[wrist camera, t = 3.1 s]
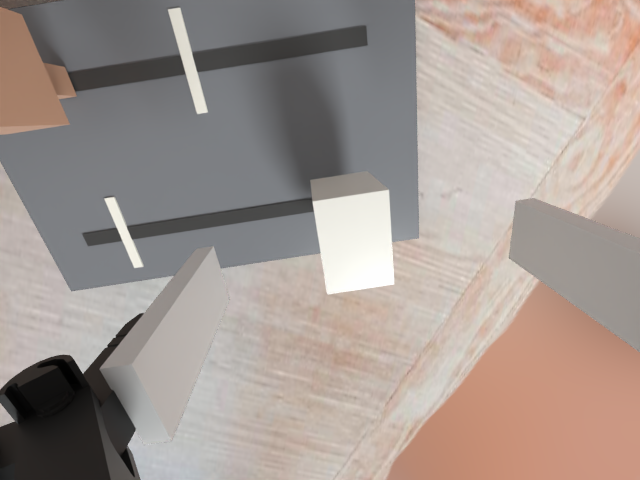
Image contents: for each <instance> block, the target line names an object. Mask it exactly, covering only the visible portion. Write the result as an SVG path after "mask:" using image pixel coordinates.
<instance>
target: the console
mask: <svg viewBox="0 0 640 480" xmlns="http://www.w3.org/2000/svg"><path fill="white" fill-rule="evenodd" d="M8 10H11V11H13V12H16V13H19V14H22V16H23V18H24V21H25V23H26V25H27V27H28V30H29V32H30V34H31V37H32V39H33V41H34V43H35V46H36V48H37V50H38V53H39V55H40V57H41V59H42V62H43V63H48V64H53V65H57V66H62V67H65V69H66V71H67V73H68V76H69V78H70V81H71V83H72V85H73V88H74V90H75V93H76V95H77V97H70V98H64V99H59V101H60V103H61V105H62V107H63V110H64V112H65V114H66V117H67V119H68V121H69V123H70V125H63V126H57V127H51V128H44V129H38V130H32V131H25V132H19V133H13V134H5V135H0V162H1V164H2V165H3V167H4V169H5V171H6V173H7V175H8V176H9V178H10V180H11V182H12V184H13V186H14V187H15V189H16V191H17V193H18V195H19V197H20V198H21V200H22V202H23V204H24V206H25V208H26V209H27V211H28V213H29V215H30V217H31V218H32V220H33V222H34V224H35V226H36V228H37V229H38V231H39V233H40V235H41V237H42V239H43V240H44V242H45V244H46V246H47V248H48V250H49V251H50V253H51V255H52V257H53V259H54V261H55V262H56V264H57V266H58V268H59V270H60V272H61V273H62V275H63V277H64V279H65V281H66V283H67V284H68V286H69V288H70V290H71V291H76V290H83V289H89V288H96V287H102V286H109V285H116V284H122V283H129V282H135V281H142V280H148V279H155V278H161V277H168V276H174V275H175V274H176V273H177V272H178V271H179V270H180V268H181V267H182V266H183V265H184V263H185V262H186V261H187V260H188V258H189V257H190V256H191V255H192V253H193V252H194V251H195V250H196V249H198V248H205V247H211V246H214V249H215V252H216V256H217V259H218V262H219V265H220V268H227V267H233V266H240V265H246V264H253V263H259V262H266V261H272V260H279V259H286V258H292V257H299V256H305V255H312V254H318V253H321V252H320V246H319V239H318V233H317V227H316V221H315V214H314V208H313V202H312V192H311V183H310V180H313V179H319V178H326V177H332V176H339V175H345V174H352V173H358V172H365V171H368V172H369V173H370V174H371V175H372V176H374V177H375V178H376V179H377V180H378V181H379V182H381V183H382V184H383V185H384V186H385V187H386V188H388V189H389V199H390V217H391V235H392V242H397V241H403V240H410V239H416V238H419V208H418V151H417V93H416V36H415V0H62V1H55V2H49V3H43V4H37V5H31V6H24V7H18V8H12V9H8Z"/></svg>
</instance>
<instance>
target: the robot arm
mask: <svg viewBox="0 0 640 480" xmlns="http://www.w3.org/2000/svg"><path fill="white" fill-rule="evenodd" d="M509 259H511V260H512V261H514V262H515V263H516V264H518V265H519V266H521V267H522V268H523V269H525V270H526V271H528V272H529V273H530V274H532V275H533V276H534V277H536V278H537V279H539V280H540V281H541V282H543V283H544V284H546V285H547V286H548V287H550V288H551V289H553V290H554V291H555V292H557V293H558V294H559V295H561V296H562V297H564V298H565V299H566V300H568V301H569V302H571V303H572V304H573V305H575V306H576V307H578V308H579V309H581V310H582V311H583V312H585V313H586V314H587V315H589V316H590V317H591V318H593V319H594V320H596V321H597V322H598V323H600V324H601V325H603V326H604V327H605V328H607V329H608V330H610V331H611V332H612V333H614V334H615V335H616V336H618V337H619V338H621V339H622V340H623V341H625V342H626V343H628V344H629V345H630V346H632V347H633V348H635V349H636V350H637V351H639V352H640V238H638V237H635V236H632V235H630V234H627V233H624V232H622V231H619V230H616V229H614V228H611V227H608V226H605V225H603V224H600V223H598V222H595V221H592V220H590V219H587V218H585V217H582V216H579V215H577V214H574V213H571V212H569V211H566V210H563V209H561V208H558V207H556V206H553V205H550V204H548V203H545V202H542V201H540V200H537V199H534V198H532V199H525V200H519V201H516V203H515V211H514V219H513V228H512V236H511V244H510V253H509ZM229 300H230V297H229V294H228V291H227V287H226V284H225V281H224V278H223V275H222V272H221V268H220V265H219V262H218V259H217V256H216V252H215V249H214V246H211V247H205V248H198V249H196V250H195V251H194V252H193V253H192V255H191V256H190V257H189V258H188V260H187V261H186V262H185V263H184V265H183V266H182V267H181V268H180V270H179V271H178V272H177V273H176V274H175V276H174V277H173V278H172V279H171V281H170V282H169V283H168V284H167V286H166V287H165V288H164V289H163V291H162V292H161V293H160V294H159V296H158V297H157V298H156V299H155V300H154V302H153V303H152V304H151V305H150V307H149V308H148V309H147V310H146V312H145V313H141V314H139V315H137V316H136V317H135V318H133V319H132V320H131V321H129V322H128V323H127V324H125V326H124V327H123V328H122V329H121V330H120V331H119V333H118V334H117V335H116V338H113V340H112V341H111V342H110V343H109V344H108V345H107V346H108V347H107V348H105V349H104V350H103V351H102V352H101V354H100V355H99V356H98V357H97V358H96V360H95V361H94V362H93V363H92V364H91V365H90V367H89V368H88V369H87V370H86V371H85V372H84V374H82V372H81V370H80V369H79V367H78V366H77V364H76V362H75V361H74V359H73V358H72V357H71V356H70V355H59V356H54V357H50V358H47V359H45V360H42V361H40V362H37V363H36V364H34V365H32V366H30V367H28V368H26V369H25V370H23V371H22V372H20V373H19V374H17V375H16V376H15V377H13V378H12V379H10V380H9V381H8V382H7V383H6V384H5V385H4V386H3V387H2V388H1V390H0V403H1V404H2V406H3V407H4V408H5V409H6V410H7V412H8V413H9V414H10V415H11V417H12V418H13V419H14V420H15V422H12V423H10V424H7V425H4V426H2V427H0V480H140V477H139V474H138V471H137V467H136V464H135V461H134V458H133V455H132V452H131V451H130V449H129V448H128V446H127V445H128V443H129V441H130V440H131V438H132V436H133V434H134V432H135V431H136V432H137V434H138V436H139V438H140V439H141V441H142V443H143V444H144V445H148V444H155V443H162V442H169V441H172V440H173V437H174V435H175V432H176V430H177V427H178V425H179V423H180V420H181V418H182V415H183V413H184V410H185V408H186V405H187V403H188V401H189V398H190V396H191V393H192V391H193V388H194V386H195V383H196V381H197V379H198V376H199V374H200V371H201V369H202V366H203V364H204V361H205V359H206V357H207V354H208V352H209V349H210V347H211V344H212V342H213V339H214V337H215V335H216V332H217V330H218V327H219V325H220V322H221V320H222V317H223V315H224V313H225V310H226V308H227V305H228V303H229Z"/></svg>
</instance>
